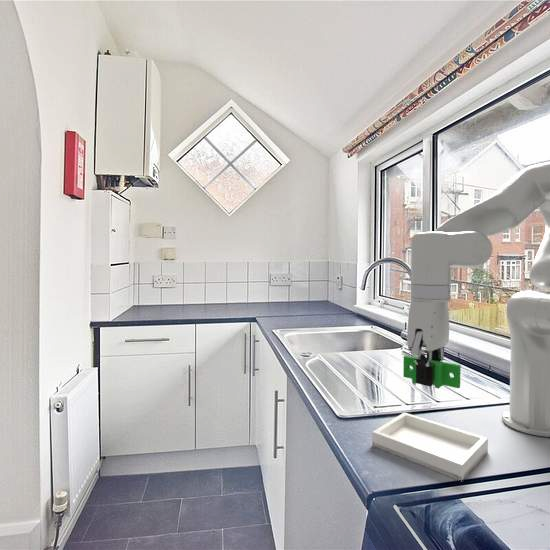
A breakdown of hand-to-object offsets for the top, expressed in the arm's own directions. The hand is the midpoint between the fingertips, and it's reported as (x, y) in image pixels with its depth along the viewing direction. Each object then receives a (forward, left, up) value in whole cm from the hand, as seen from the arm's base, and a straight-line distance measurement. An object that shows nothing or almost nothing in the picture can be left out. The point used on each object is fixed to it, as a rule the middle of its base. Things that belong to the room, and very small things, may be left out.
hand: (429, 380), depth 77 cm
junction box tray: (0, 0, -14) cm, 14 cm away
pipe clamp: (0, 0, -1) cm, 1 cm away
